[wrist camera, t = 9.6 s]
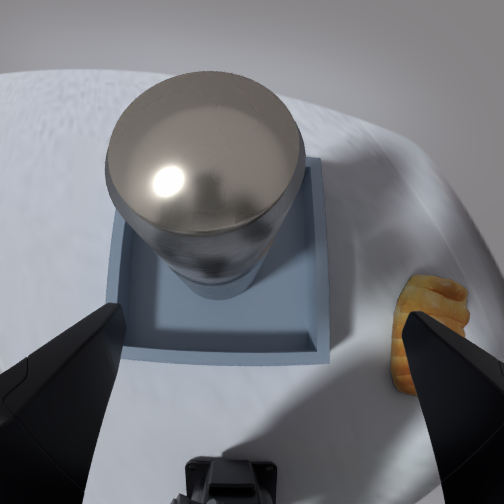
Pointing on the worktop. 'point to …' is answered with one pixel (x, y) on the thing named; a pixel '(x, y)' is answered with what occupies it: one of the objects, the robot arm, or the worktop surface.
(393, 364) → the pastry
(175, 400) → the worktop surface
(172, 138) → the canister
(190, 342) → the bin
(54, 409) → the robot arm
